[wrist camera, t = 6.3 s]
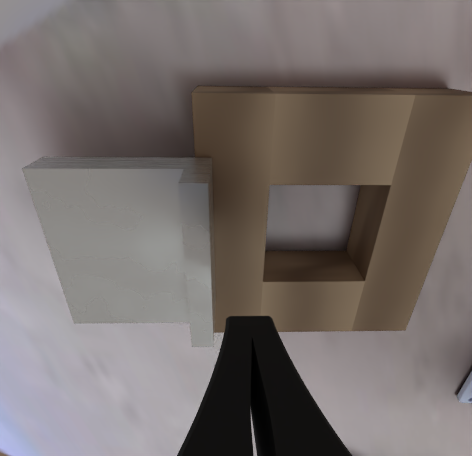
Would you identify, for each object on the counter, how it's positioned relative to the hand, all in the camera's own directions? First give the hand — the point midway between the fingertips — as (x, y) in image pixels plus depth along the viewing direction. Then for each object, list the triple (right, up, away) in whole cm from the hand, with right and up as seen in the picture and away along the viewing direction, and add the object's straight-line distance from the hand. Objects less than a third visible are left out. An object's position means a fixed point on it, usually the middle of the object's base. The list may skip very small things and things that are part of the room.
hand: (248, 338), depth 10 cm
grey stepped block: (-5, +3, +5) cm, 8 cm away
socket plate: (+4, +5, +8) cm, 10 cm away
